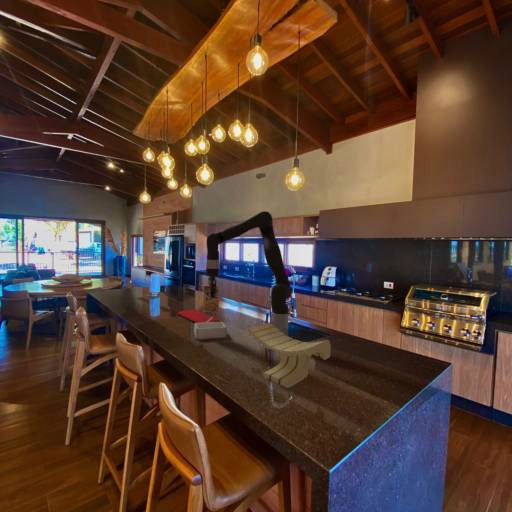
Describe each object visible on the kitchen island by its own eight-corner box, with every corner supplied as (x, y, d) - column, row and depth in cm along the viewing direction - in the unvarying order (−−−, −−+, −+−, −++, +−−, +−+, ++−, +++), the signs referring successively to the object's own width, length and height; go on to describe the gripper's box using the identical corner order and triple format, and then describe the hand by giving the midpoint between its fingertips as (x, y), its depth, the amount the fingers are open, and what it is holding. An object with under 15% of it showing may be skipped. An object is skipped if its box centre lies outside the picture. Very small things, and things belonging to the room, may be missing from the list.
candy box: (202, 312, 159) (203, 285, 158) (203, 310, 163) (204, 284, 163) (218, 312, 159) (219, 286, 159) (218, 311, 163) (219, 285, 163)
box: (226, 337, 159) (226, 327, 158) (196, 339, 153) (196, 328, 153) (221, 331, 170) (222, 321, 170) (193, 333, 164) (194, 323, 164)
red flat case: (195, 312, 217) (195, 308, 217) (224, 325, 185) (224, 319, 185) (176, 315, 207) (176, 310, 207) (203, 328, 175) (203, 323, 175)
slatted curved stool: (328, 382, 110) (331, 338, 109) (307, 397, 98) (309, 347, 98) (270, 359, 130) (272, 322, 130) (247, 369, 118) (249, 328, 118)
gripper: (221, 268, 155) (220, 298, 155) (216, 266, 168) (215, 294, 169) (208, 268, 152) (207, 299, 153) (204, 266, 166) (203, 294, 166)
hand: (211, 296), depth 161 cm, fingers closed on candy box, 5 cm apart
